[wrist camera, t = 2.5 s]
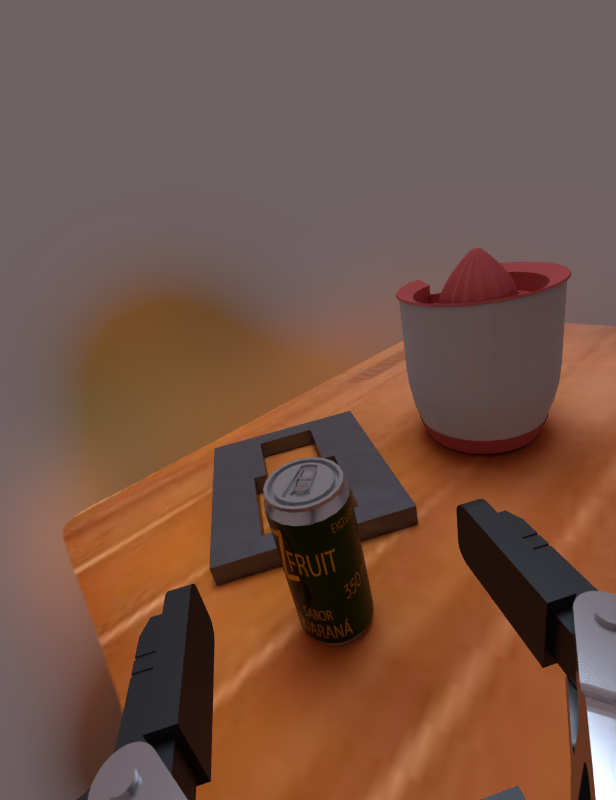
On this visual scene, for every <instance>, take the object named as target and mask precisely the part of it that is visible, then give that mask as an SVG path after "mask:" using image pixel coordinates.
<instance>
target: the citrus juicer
mask: <svg viewBox="0 0 616 800" xmlns="http://www.w3.org/2000/svg"><path fill="white" fill-rule="evenodd" d="M570 277H571V271H570V269H569V268H567V267H565V266H563V265H560V264H554V263H546V262H509V263H499V262H498V261H497V260H495V259H494V258H493V257H492V256H491V255H490V254H488V253H487V252H485V251H483V250H482V249H480V248H474V249H472V250H471V251H470V252H469V253H468V254H467V255H466V256H465V257H464V258H463V259H462V261H461V262H460V263H459V264H458V266H457V267H456V268H455V270H454V271H453V272H452V274H451V275H450V277H449V279H448V280H447V282H446V284H445V286H444V288H443V290H442V292H441V293H438V294H430V287H429V285H427V284H426V283H424V282H422V281H420V280H416V281H414V282H411V283H408V284H407V285H405V286H403V287H402V288H400V289H399V290H398V292H397V294H396V297H397V299H398V300H399V302H400V311H401V320H402V329H403V338H404V347H405V357H406V366H407V372H408V378H409V384H410V388H411V391H412V394H413V398H414V401H415V404H416V406H417V409H418V411H419V413H420V417H421V420H422V422H423V423H424V425H425V427H426V428H427V430H428V431H429V433H430V434H431V436H432V437H433V438H434V439H435V440H436V441H437V442H438V443H440V444H442V445H444V446H446V447H448V448H451V449H454V450H457V451H461V452H464V453H467V454H474V453H475V454H494V453H503V452H507V451H512V450H515V449H518V448H520V447H523V446H525V445H526V444H528V443H530V442H531V441H532V440H533V439H534V438H535V437H536V436H537V434H538V433H539V431H540V429H541V428H542V426H543V424H544V422H545V421H546V419H547V417H548V412H549V410H550V407H551V405H552V403H553V401H554V398H555V394H556V391H557V387H558V384H559V379H560V372H561V364H562V350H563V335H564V318H565V304H566V288H567V280H568V279H569V278H570Z"/></svg>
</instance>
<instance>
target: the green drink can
mask: <svg viewBox="0 0 616 800" xmlns="http://www.w3.org/2000/svg"><path fill="white" fill-rule="evenodd" d="M263 491H264V496H265V499H264V508H265V513H266V516H267V519H268V522H269V525H270V528H271V531H272V535H273V538H274V541H275V544H276V547H277V550H278V553H279V556H280V560H281V563H282V566H283V569H284V572H285V575H286V578H287V581H288V585H289V588H290V591H291V594H292V597H293V600H294V603H295V606H296V609H297V613H298V616H299V619H300V622H301V625H302V626H303V628H304V629H305V631H306V632H307V634H309V635H310V636H311V637H313V638H314V639H316V640H317V641H319V642H320V643H322V644H326V645H329V646H342V645H345V644H348V643H351V642H353V641H354V640H355V639H357V638H358V637H359V636H361V635H362V633H363V632H364V630H365V629H366V628H367V626H368V624H369V622H370V619H371V616H372V612H373V600H372V595H371V590H370V585H369V580H368V575H367V570H366V565H365V560H364V555H363V550H362V545H361V540H360V535H359V530H358V525H357V520H356V515H355V510H354V505H353V500H352V495H351V490H350V485H349V483H348V481H347V480H346V478H345V477H344V474H343V471H342V470H341V468H340V466H339V465H338V464H336V463H335V462H333V461H331V460H328V459H325V458H315V457H311V458H303V459H298V460H295V461H292V462H289V463H287V464H285V465H283V466H281V467H279V468H278V469H277V470H276V471H274V472H273V473H272V474H271V475H270V476H269V477H268V479H267V480H266V482H265V485H264V488H263Z"/></svg>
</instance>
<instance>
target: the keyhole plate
mask: <svg viewBox="0 0 616 800" xmlns="http://www.w3.org/2000/svg"><path fill="white" fill-rule="evenodd" d="M312 443H314V446H315V448H316V451H317V453H318V455H319V458H325V459H328V460H331V461H333V462H335V463H336V464H338V465H339V466H340V468H341V470H342V471H343V474H344V477H345V478H346V480H347V481H348V483H349V485H350V490H351V495H352V500H353V505H354V507H355V508H354V510H355V515H356V520H357V525H358V530H359V535H360V540H361V541H363V540H366V539H369V538H373V537H376V536H379V535H382V534H386V533H389V532H392V531H395V530H398V529H402V528H405V527H408V526H411V525H415V524H418V520H417V511H416V505H415V504H414V502H413V501H412V499H411V498H410V497H409V495H408V494H407V492H406V491H405V489H404V488H403V487H402V485H401V484H400V482H399V481H398V479H397V478H396V476H395V475H394V474H393V472H392V471H391V469H390V468H389V466H388V465H387V464H386V462H385V461H384V459H383V458H382V456H381V455H380V453H379V452H378V451H377V449H376V448H375V446H374V445H373V443H372V442H371V441H370V439H369V438H368V436H367V435H366V433H365V432H364V430H363V429H362V428H361V426H360V425H359V423H358V422H357V420H356V419H355V418H354V416H353V415H352V413H351V412H350V411H348V412H344V413H341V414H337V415H334V416H330V417H326V418H323V419H319V420H316V421H312V422H308V423H305V424H301V425H298V426H294V427H290V428H287V429H283V430H280V431H276V432H272V433H269V434H265V435H262V436H258V437H254V438H251V439H247V440H244V441H240V442H236V443H233V444H229V445H226V446H222V447H218V448H215V454H214V478H213V501H212V525H211V549H210V571H211V573H212V575H213V578H214V580H215V582H216V585H221V584H224V583H227V582H230V581H234V580H237V579H240V578H243V577H246V576H250V575H253V574H256V573H259V572H263V571H266V570H269V569H272V568H276V567H279V566H282V563H281V560H280V556H279V553H278V550H277V547H276V544H275V541H274V538H273V535H272V533H269V534H265V535H264V528H263V521H262V513H261V506H260V498H259V493H260V492H264V491H263V488H264V485H265V482H266V480H267V479H268V474H267V468H266V463H265V457H267V456H270V455H274V454H277V453H281V452H284V451H288V450H291V449H295V448H298V447H302V446H305V445H309V444H312Z"/></svg>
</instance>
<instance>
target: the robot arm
mask: <svg viewBox="0 0 616 800" xmlns="http://www.w3.org/2000/svg"><path fill="white" fill-rule="evenodd" d="M457 526H458V543H459V548H460V551H461V554H462V556H463V558H464V560H465V562H466V564H467V565H468V566H469V568H470V569H471V570H472V572H473V573H474V575H475V576H476V577H477V579H478V580H479V581H480V583H481V584H482V585H483V587H484V588H485V590H486V591H487V592H488V594H489V595H490V596H491V598H492V599H493V600H494V602H495V603H496V605H497V606H498V607H499V609H500V610H501V611H502V613H503V614H504V615H505V617H506V618H507V620H508V621H509V622H510V624H511V625H512V626H513V628H514V629H515V630H516V632H517V633H518V635H519V636H520V637H521V639H522V640H523V641H524V643H525V644H526V645H527V647H528V648H529V650H530V651H531V652H532V654H533V655H534V656H535V658H536V659H537V660H538V662H539V663H540V665H541V666H542V667H543V668H544V667H547V666H550V665H553V664H555V663H558V664H559V666H560V667H561V668H562V670H563V671H564V672H565V674H566V680H565V681H566V697H567V712H568V727H569V743H570V759H571V800H616V595H614V594H611V593H608V592H602V591H598V590H597V589H596V588H595V587H593V586H592V585H591V584H590V583H589V582H588V581H587V580H586V579H585V578H584V577H583V576H582V575H581V574H580V573H579V572H578V571H577V570H576V569H575V568H574V567H573V566H571V565H570V564H569V563H568V562H567V561H566V560H565V559H564V558H563V557H562V556H561V555H560V554H559V553H558V552H557V551H556V550H555V549H554V548H553V547H552V546H549V544H548V543H547V542H546V541H545V540H544V539H543V538H542V537H541V536H540V535H538V534H537V532H536V531H535V530H534V529H533V528H532V527H531V526H530V525H529V524H528V523H526V522H525V521H524V520H523V519H521V518H519V517H517V516H515V515H513V514H511V513H509V512H507V511H506V510H505V511H502V512H499V513H497V512H496V511H495V510H494V509H493V508H492V507H491V506H490V505H489V504H488V502H486V501H485V500H484V499H478V500H475V501H472V502H468V503H465V504H462V505H458V506H457ZM135 658H136V660H135V661H134V665H133V669H132V678H131V679H130V683H129V688H128V693H127V697H126V702H125V707H124V712H123V716H122V721H121V726H120V730H119V735H118V740H117V744H116V748H115V751H114V754H113V755H112V756H111V757H109V759H108V760H107V761H106V762H105V763H104V764H103V766H102V767H101V769H100V770H99V772H98V773H97V775H96V777H95V779H94V781H93V783H92V785H91V788H90V789H89V790H88V791H87V792H86V793H85V794H83V795H82V796H81V797H80V798H78V799H77V800H196V786H199V785H202V784H205V783H207V782H210V781H211V754H212V716H213V678H214V631H213V626H212V622H211V619H210V616H209V614H208V612H207V610H206V607H205V605H204V603H203V600H202V598H201V596H200V594H199V591H198V589H197V587H196V585H195V584H191V585H188V586H184V587H181V588H178V589H174V590H171V591H168V592H167V593H166V595H165V600H164V606H163V612H162V614H160V615H157V616H154V617H151V618H150V619H149V621H148V623H147V625H146V626H145V628H144V630H143V632H142V633H141V635H140V637H139V641H138V646H137V650H136V655H135ZM481 800H526V799H525V797H524V795H523V793H522V792H521V790H520V788H519V786H516V787H513V788H510V789H508V790H505V791H502V792H500V793H497V794H494V795H492V796H489V797H486V798H484V799H481Z"/></svg>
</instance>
